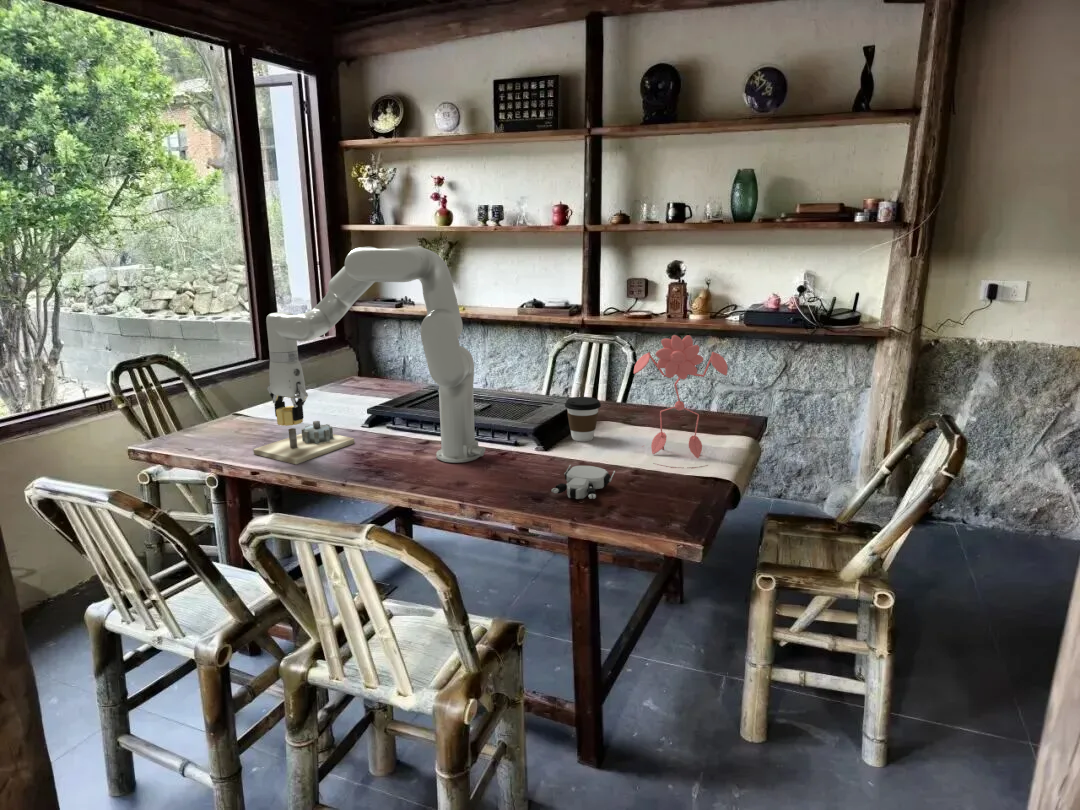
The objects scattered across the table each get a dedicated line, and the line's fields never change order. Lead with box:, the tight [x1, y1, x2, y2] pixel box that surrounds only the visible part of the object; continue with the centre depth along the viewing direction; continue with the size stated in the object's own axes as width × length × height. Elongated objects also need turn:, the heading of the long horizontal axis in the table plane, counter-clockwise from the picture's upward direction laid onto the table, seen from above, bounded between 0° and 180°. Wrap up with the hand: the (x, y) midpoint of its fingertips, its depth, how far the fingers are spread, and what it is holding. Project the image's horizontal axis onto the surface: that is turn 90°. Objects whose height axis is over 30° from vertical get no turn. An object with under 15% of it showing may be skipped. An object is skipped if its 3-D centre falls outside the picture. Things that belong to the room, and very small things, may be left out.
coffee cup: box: [564, 396, 602, 442], centre depth 212 cm, size 11×11×12 cm
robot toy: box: [551, 464, 616, 500], centre depth 171 cm, size 12×4×15 cm
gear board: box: [252, 420, 356, 465], centre depth 205 cm, size 18×22×7 cm
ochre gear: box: [276, 405, 304, 427], centre depth 200 cm, size 7×7×4 cm
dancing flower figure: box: [633, 334, 728, 469], centre depth 190 cm, size 15×26×35 cm, turn 68°
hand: (289, 417), depth 200 cm, fingers closed on ochre gear, 6 cm apart
